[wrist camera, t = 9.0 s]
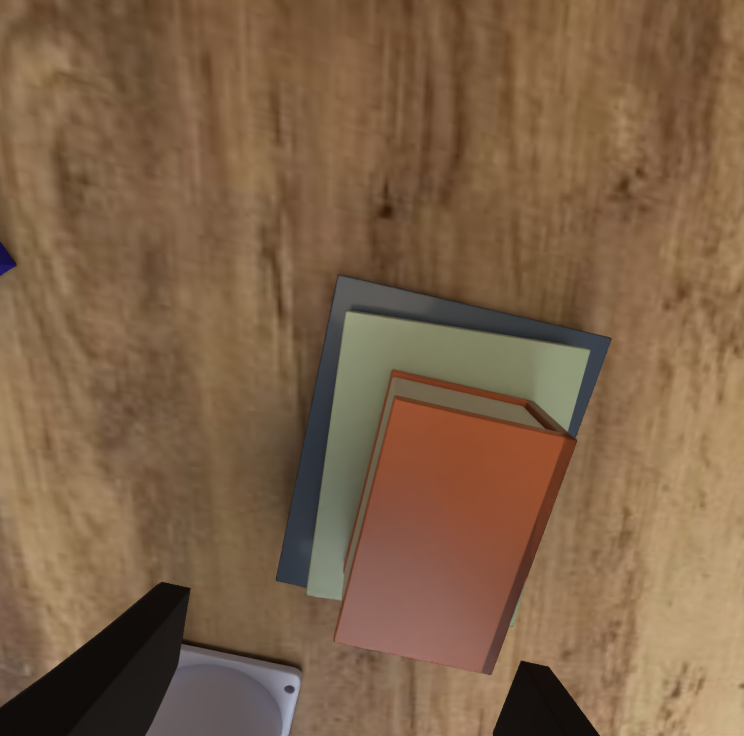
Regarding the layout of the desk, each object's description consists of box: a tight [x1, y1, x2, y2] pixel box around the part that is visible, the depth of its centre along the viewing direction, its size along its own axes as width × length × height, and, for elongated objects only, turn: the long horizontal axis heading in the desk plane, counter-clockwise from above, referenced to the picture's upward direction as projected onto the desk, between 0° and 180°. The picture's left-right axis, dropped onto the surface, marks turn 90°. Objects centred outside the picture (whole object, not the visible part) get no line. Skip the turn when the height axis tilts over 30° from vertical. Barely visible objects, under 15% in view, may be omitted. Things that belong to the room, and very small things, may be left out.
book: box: [334, 369, 577, 675], centre depth 14 cm, size 8×5×3 cm, turn 167°
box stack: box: [276, 274, 612, 627], centre depth 17 cm, size 13×10×4 cm
